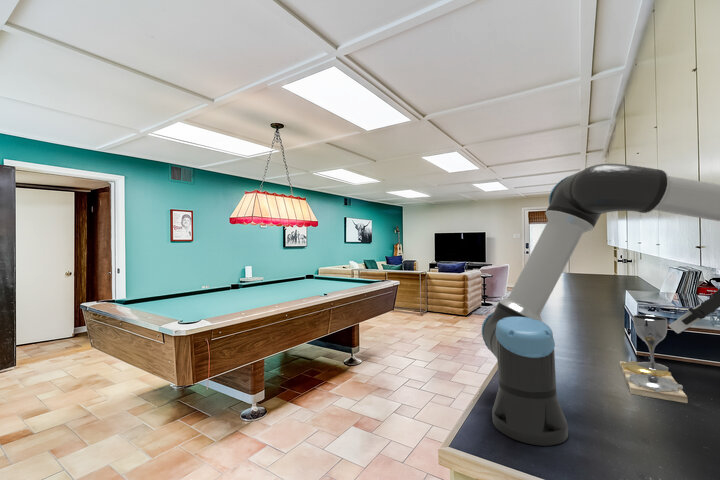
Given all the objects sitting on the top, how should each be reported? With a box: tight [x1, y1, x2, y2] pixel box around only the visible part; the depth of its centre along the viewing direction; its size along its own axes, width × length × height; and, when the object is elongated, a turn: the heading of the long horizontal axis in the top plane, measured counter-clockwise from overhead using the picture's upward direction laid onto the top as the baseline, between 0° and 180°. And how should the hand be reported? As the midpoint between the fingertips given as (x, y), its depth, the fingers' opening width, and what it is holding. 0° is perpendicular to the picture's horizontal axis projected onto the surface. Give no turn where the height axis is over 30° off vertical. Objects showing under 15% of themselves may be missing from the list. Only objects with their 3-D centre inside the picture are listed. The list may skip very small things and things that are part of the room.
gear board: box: [619, 360, 689, 404], centre depth 94 cm, size 24×12×4 cm, turn 147°
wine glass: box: [632, 314, 669, 371], centre depth 100 cm, size 8×8×15 cm
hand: (678, 325), depth 93 cm, fingers open, 13 cm apart
